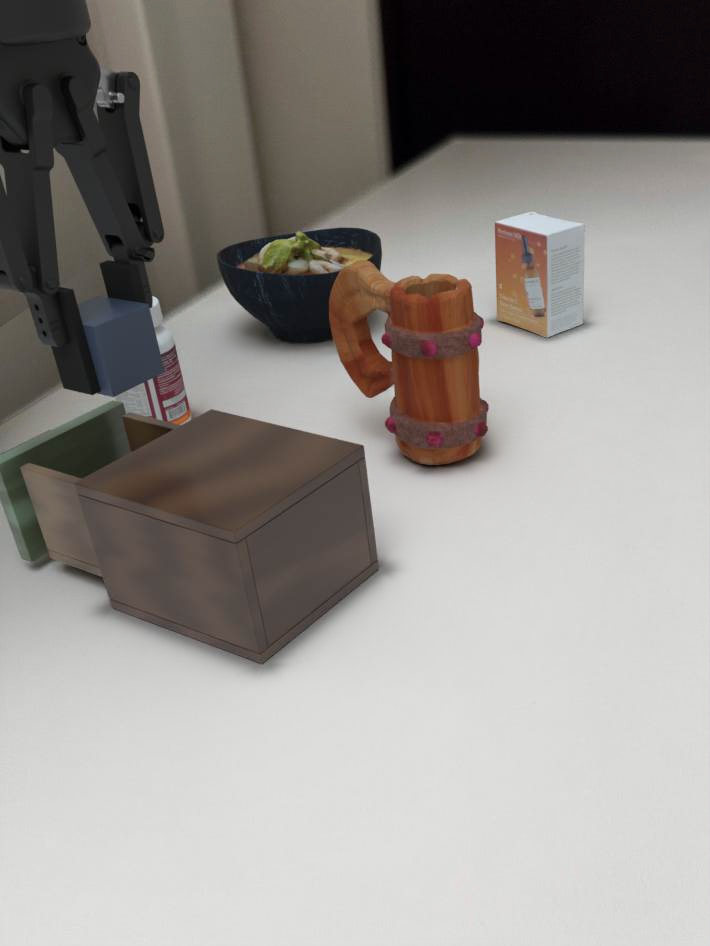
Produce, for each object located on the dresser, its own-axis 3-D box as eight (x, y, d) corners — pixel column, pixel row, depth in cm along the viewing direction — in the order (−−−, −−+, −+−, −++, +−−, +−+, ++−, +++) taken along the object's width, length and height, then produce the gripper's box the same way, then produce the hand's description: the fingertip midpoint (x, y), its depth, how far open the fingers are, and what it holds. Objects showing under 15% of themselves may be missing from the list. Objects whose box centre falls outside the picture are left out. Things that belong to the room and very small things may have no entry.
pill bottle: (188, 407, 100) (161, 287, 93) (196, 433, 95) (169, 308, 88) (121, 419, 98) (89, 298, 91) (126, 446, 93) (93, 320, 87)
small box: (496, 321, 115) (492, 221, 109) (533, 308, 118) (531, 209, 111) (547, 338, 110) (546, 234, 103) (585, 324, 113) (586, 222, 106)
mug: (514, 445, 90) (508, 266, 81) (458, 485, 84) (446, 297, 75) (380, 412, 97) (362, 243, 88) (322, 446, 91) (295, 271, 83)
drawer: (-26, 542, 79) (-62, 446, 74) (92, 478, 86) (65, 388, 82) (142, 603, 71) (113, 500, 66) (255, 527, 79) (236, 430, 74)
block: (64, 386, 69) (44, 317, 67) (117, 362, 72) (99, 295, 70) (113, 397, 67) (94, 326, 64) (165, 372, 70) (148, 303, 68)
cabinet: (111, 608, 72) (73, 482, 67) (236, 525, 81) (211, 408, 75) (262, 664, 66) (233, 531, 60) (379, 568, 75) (364, 445, 69)
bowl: (417, 333, 113) (409, 237, 107) (268, 372, 106) (251, 271, 100) (347, 294, 125) (336, 205, 119) (210, 326, 118) (191, 234, 112)
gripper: (-104, -30, 48) (45, 437, 62) (170, -58, 60) (244, 339, 74) (-197, -28, 52) (-36, 415, 65) (81, -55, 64) (167, 325, 77)
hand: (112, 374), depth 70 cm, fingers closed on block, 5 cm apart
